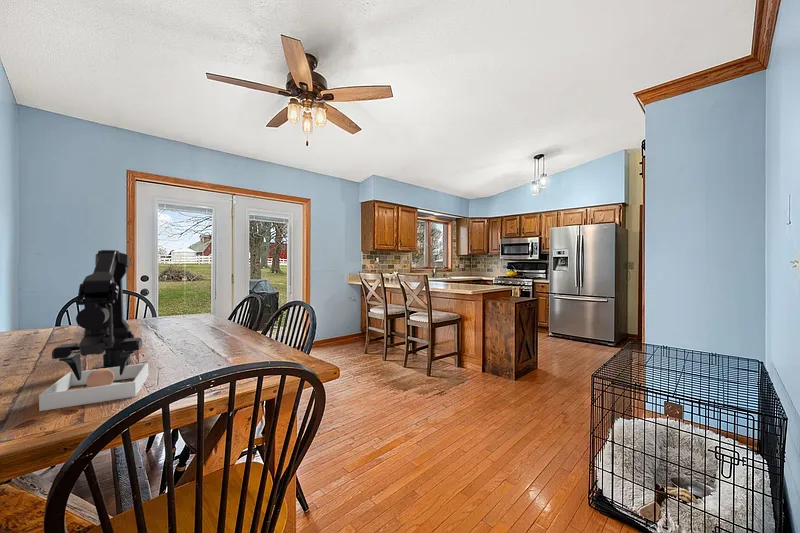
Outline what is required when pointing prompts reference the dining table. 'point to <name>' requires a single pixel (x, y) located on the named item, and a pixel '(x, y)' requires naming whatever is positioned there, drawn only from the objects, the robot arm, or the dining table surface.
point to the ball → (100, 378)
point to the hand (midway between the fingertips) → (100, 377)
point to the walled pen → (93, 388)
